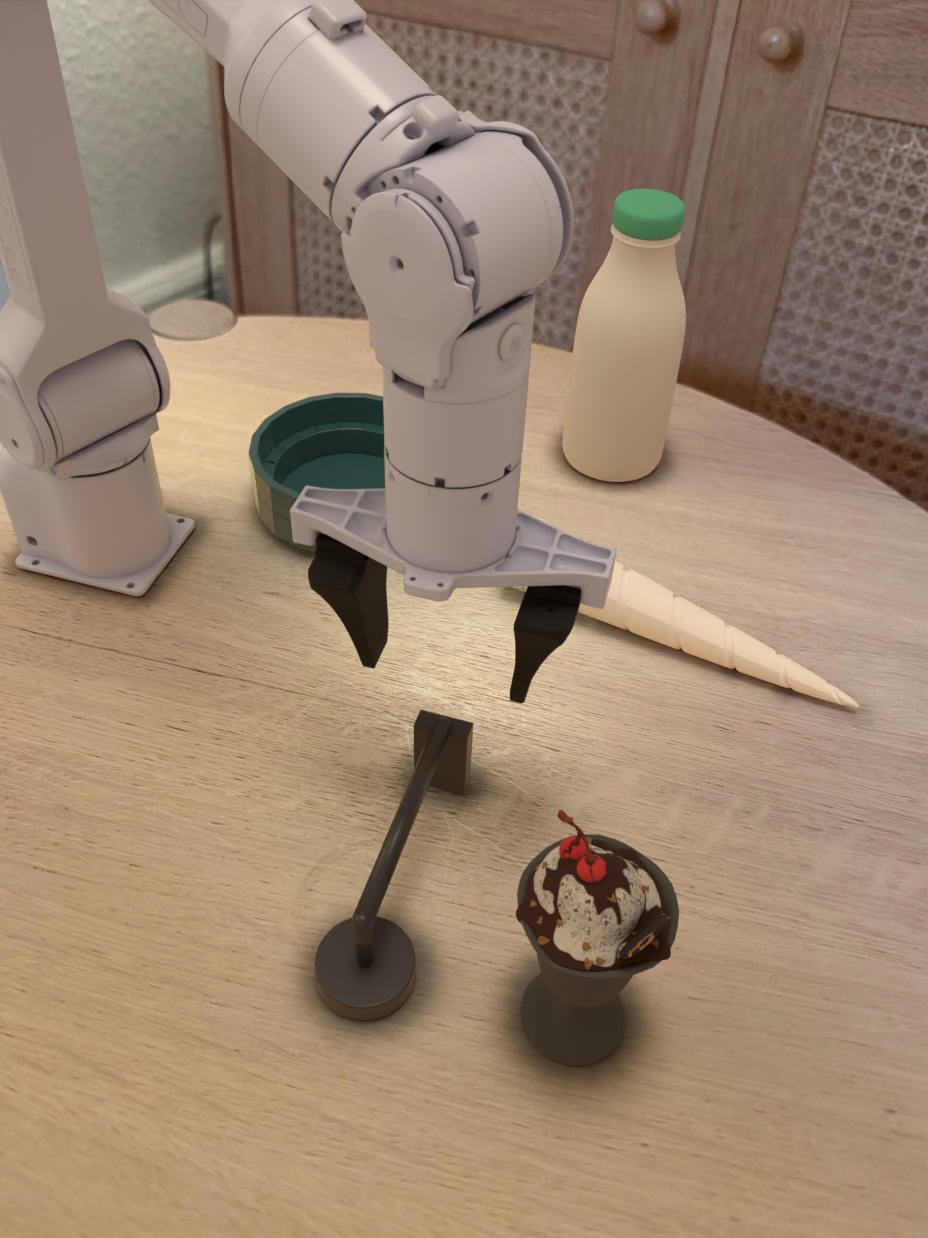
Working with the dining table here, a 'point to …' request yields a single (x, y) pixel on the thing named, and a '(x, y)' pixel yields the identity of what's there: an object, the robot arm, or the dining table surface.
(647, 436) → the milk bottle
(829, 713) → the dining table surface
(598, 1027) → the sundae
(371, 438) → the bowl
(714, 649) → the unicorn horn
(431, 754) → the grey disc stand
